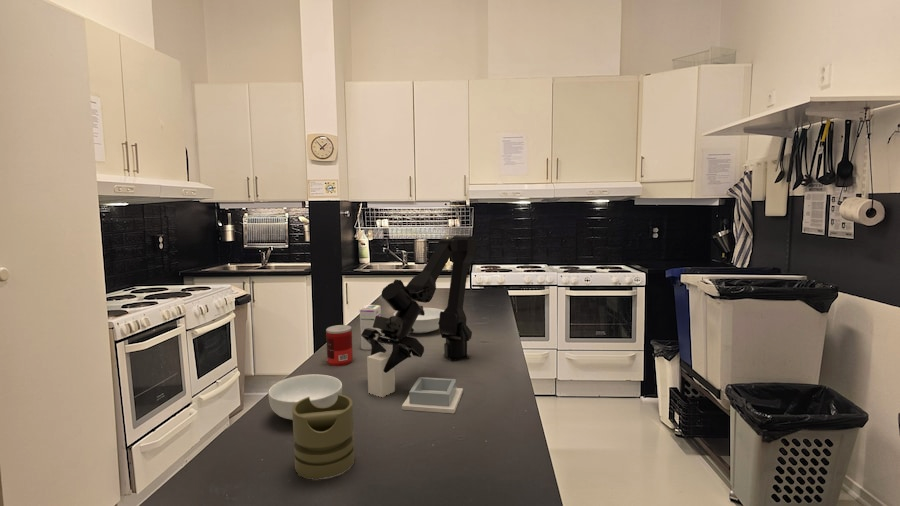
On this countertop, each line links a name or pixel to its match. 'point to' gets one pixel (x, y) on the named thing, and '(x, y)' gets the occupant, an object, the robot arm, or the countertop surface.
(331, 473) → the piston
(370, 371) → the plug
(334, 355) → the canned food
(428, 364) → the countertop surface
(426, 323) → the serving bowl
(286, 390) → the cereal bowl
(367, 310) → the syrup box
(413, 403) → the socket
